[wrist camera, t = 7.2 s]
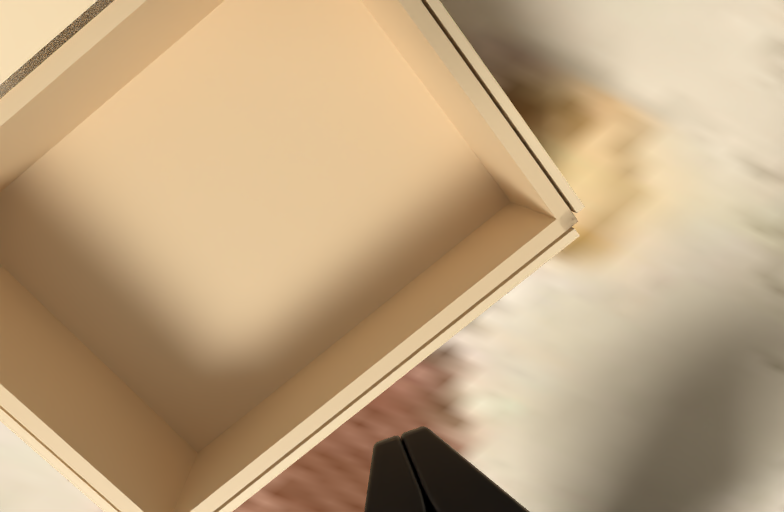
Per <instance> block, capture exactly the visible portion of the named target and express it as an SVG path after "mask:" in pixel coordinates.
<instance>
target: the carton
mask: <svg viewBox="0 0 784 512" xmlns="http://www.w3.org/2000/svg"><path fill="white" fill-rule="evenodd" d="M584 207H585V206H584V205H583V203H582V202H581V201H580V199H579V198H578V196H577V195H576V193H575V192H574V191H573V189H572V188H571V186H570V185H569V184H568V182H567V181H566V179H565V178H564V176H563V175H562V174H561V172H560V171H559V169H558V168H557V166H556V165H555V164H554V162H553V161H552V159H551V158H550V157H549V155H548V154H547V152H546V151H545V149H544V148H543V147H542V145H541V144H540V142H539V141H538V139H537V138H536V137H535V135H534V134H533V132H532V131H531V130H530V128H529V127H528V125H527V124H526V122H525V121H524V120H523V118H522V117H521V115H520V114H519V113H518V111H517V110H516V108H515V107H514V105H513V104H512V103H511V101H510V100H509V98H508V97H507V95H506V94H505V93H504V91H503V90H502V88H501V87H500V86H499V84H498V83H497V81H496V80H495V78H494V77H493V76H492V74H491V73H490V71H489V70H488V68H487V67H486V66H485V64H484V63H483V61H482V60H481V59H480V57H479V56H478V54H477V53H476V51H475V50H474V49H473V47H472V46H471V44H470V43H469V42H468V40H467V39H466V37H465V36H464V34H463V33H462V32H461V30H460V29H459V27H458V26H457V24H456V23H455V22H454V20H453V19H452V17H451V16H450V15H449V13H448V12H447V10H446V9H445V7H444V6H443V5H442V3H441V2H440V0H114V1H113V2H112V3H110V4H109V5H108V6H107V7H106V8H105V9H104V10H102V11H101V12H100V13H99V14H98V15H97V16H95V17H94V18H93V19H92V20H91V21H90V22H89V23H87V24H86V25H85V26H84V27H83V28H82V29H80V30H79V31H78V32H77V33H76V34H75V35H74V36H72V37H71V38H70V39H69V40H68V41H67V42H65V43H64V44H63V45H62V46H61V47H60V48H58V49H57V50H56V51H55V52H54V53H53V54H52V55H50V56H49V57H48V58H47V59H46V60H45V61H43V62H42V63H41V64H40V65H39V66H38V67H37V68H35V69H34V70H33V71H32V72H31V73H30V74H28V75H27V76H26V77H25V78H24V79H23V80H22V81H20V82H19V83H18V84H17V85H16V86H15V87H13V88H12V89H11V90H10V91H9V92H8V93H7V94H5V95H4V96H3V97H2V98H1V99H0V421H1V422H2V423H3V424H4V425H6V426H7V427H8V428H9V429H10V430H11V431H12V432H14V433H15V434H16V435H17V436H18V437H19V438H20V439H22V440H23V441H24V442H25V443H26V444H27V445H28V446H30V447H31V448H32V449H33V450H34V451H35V452H36V453H38V454H39V455H40V456H41V457H42V458H43V459H44V460H46V461H47V462H48V463H49V464H50V465H51V466H52V467H54V468H55V469H56V470H57V471H58V472H59V473H61V474H62V475H63V476H64V477H65V478H66V479H67V480H69V481H70V482H71V483H72V484H73V485H74V486H75V487H77V488H78V489H79V490H80V491H81V492H82V493H83V494H85V495H86V496H87V497H88V498H89V499H90V500H91V501H93V502H94V503H95V504H96V505H97V506H98V507H99V508H101V509H102V510H103V511H104V512H232V511H234V510H235V509H236V508H237V507H239V506H240V505H241V504H242V503H244V502H245V501H246V500H247V499H249V498H250V497H251V496H252V495H254V494H255V493H256V492H257V491H259V490H260V489H261V488H263V487H264V486H265V485H266V484H268V483H269V482H270V481H271V480H273V479H274V478H275V477H276V476H278V475H279V474H280V473H281V472H283V471H284V470H285V469H286V468H288V467H289V466H290V465H291V464H293V463H294V462H295V461H297V460H298V459H299V458H300V457H302V456H303V455H304V454H305V453H307V452H308V451H309V450H310V449H312V448H313V447H314V446H315V445H317V444H318V443H319V442H320V441H322V440H323V439H324V438H326V437H327V436H328V435H329V434H331V433H332V432H333V431H334V430H336V429H337V428H338V427H339V426H341V425H342V424H343V423H344V422H346V421H347V420H348V419H349V418H351V417H352V416H353V415H354V414H356V413H357V412H358V411H360V410H361V409H362V408H363V407H365V406H366V405H367V404H368V403H370V402H371V401H372V400H373V399H375V398H376V397H377V396H378V395H380V394H381V393H382V392H383V391H385V390H386V389H387V388H389V387H390V386H391V385H392V384H394V383H395V382H396V381H397V380H399V379H400V378H401V377H402V376H404V375H405V374H406V373H407V372H409V371H410V370H411V369H412V368H414V367H415V366H416V365H417V364H419V363H420V362H421V361H423V360H424V359H425V358H426V357H428V356H429V355H430V354H431V353H433V352H434V351H435V350H436V349H438V348H439V347H440V346H441V345H443V344H444V343H445V342H446V341H448V340H449V339H450V338H452V337H453V336H454V335H455V334H457V333H458V332H459V331H460V330H462V329H463V328H464V327H465V326H467V325H468V324H469V323H470V322H472V321H473V320H474V319H475V318H477V317H478V316H479V315H480V314H482V313H483V312H484V311H486V310H487V309H488V308H489V307H491V306H492V305H493V304H494V303H496V302H497V301H498V300H499V299H501V298H502V297H503V296H504V295H506V294H507V293H508V292H509V291H511V290H512V289H513V288H515V287H516V286H517V285H518V284H520V283H521V282H522V281H523V280H525V279H526V278H527V277H528V276H530V275H531V274H532V273H533V272H535V271H536V270H537V269H538V268H540V267H541V266H542V265H543V264H545V263H546V262H547V261H549V260H550V259H551V258H552V257H554V256H555V255H556V254H557V253H559V252H560V251H561V250H562V249H564V248H565V247H566V246H567V245H569V244H570V243H571V242H572V241H574V240H575V239H576V238H578V237H579V236H580V235H579V234H578V233H577V231H576V230H575V229H574V228H572V226H573V225H574V224H576V223H577V222H578V220H577V219H576V217H575V216H574V215H573V213H572V212H571V211H573V212H576V213H578V212H579V211H580V210H582V209H583V208H584Z"/></svg>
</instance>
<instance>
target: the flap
mask: <svg viewBox="0 0 784 512" xmlns="http://www.w3.org/2000/svg"><path fill="white" fill-rule="evenodd" d="M96 1H97V0H0V85H1V84H2V83H3V82H4V81H5V80H6V79H8V78H9V77H10V76H11V75H12V74H13V73H14V72H16V71H17V70H18V69H19V68H20V67H21V66H23V65H24V64H25V63H26V62H27V61H28V60H29V59H31V58H32V57H33V56H34V55H35V54H36V53H37V52H39V51H40V50H41V49H42V48H43V47H44V46H46V45H47V44H48V43H49V42H50V41H51V40H52V39H54V38H55V37H56V36H57V35H58V34H59V33H61V32H62V31H63V30H64V29H65V28H66V27H67V26H69V25H70V24H71V23H72V22H73V21H74V20H76V19H77V18H78V17H79V16H80V15H81V14H82V13H84V12H85V11H86V10H87V9H88V8H89V7H91V6H92V5H93V4H94V3H95V2H96Z"/></svg>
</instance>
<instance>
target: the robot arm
mask: <svg viewBox="0 0 784 512" xmlns="http://www.w3.org/2000/svg"><path fill="white" fill-rule="evenodd" d="M364 512H529V511H528V510H527V509H526V508H524V507H523V506H522V505H521V504H520V503H518V502H517V501H516V500H515V499H513V498H512V497H511V496H510V495H509V494H507V493H506V492H505V491H504V490H503V489H501V488H500V487H499V486H498V485H496V484H495V483H494V482H493V481H492V480H490V479H489V478H488V477H487V476H486V475H484V474H483V473H482V472H481V471H479V470H478V469H477V468H476V467H475V466H473V465H472V464H471V463H470V462H469V461H467V460H466V459H465V458H464V457H462V456H461V455H460V454H459V453H458V452H456V451H455V450H454V449H453V448H452V447H450V446H449V445H448V444H447V443H445V442H444V441H443V440H442V439H441V438H439V437H438V436H437V435H436V434H435V433H433V432H432V431H431V430H430V429H428V428H427V427H419V428H416V429H413V430H411V431H408V432H405V433H403V434H402V436H401V438H400V437H399V436H393V437H390V438H388V439H385V440H382V441H379V442H377V443H376V444H375V445H374V448H373V455H372V462H371V469H370V476H369V483H368V490H367V497H366V504H365V511H364Z"/></svg>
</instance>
